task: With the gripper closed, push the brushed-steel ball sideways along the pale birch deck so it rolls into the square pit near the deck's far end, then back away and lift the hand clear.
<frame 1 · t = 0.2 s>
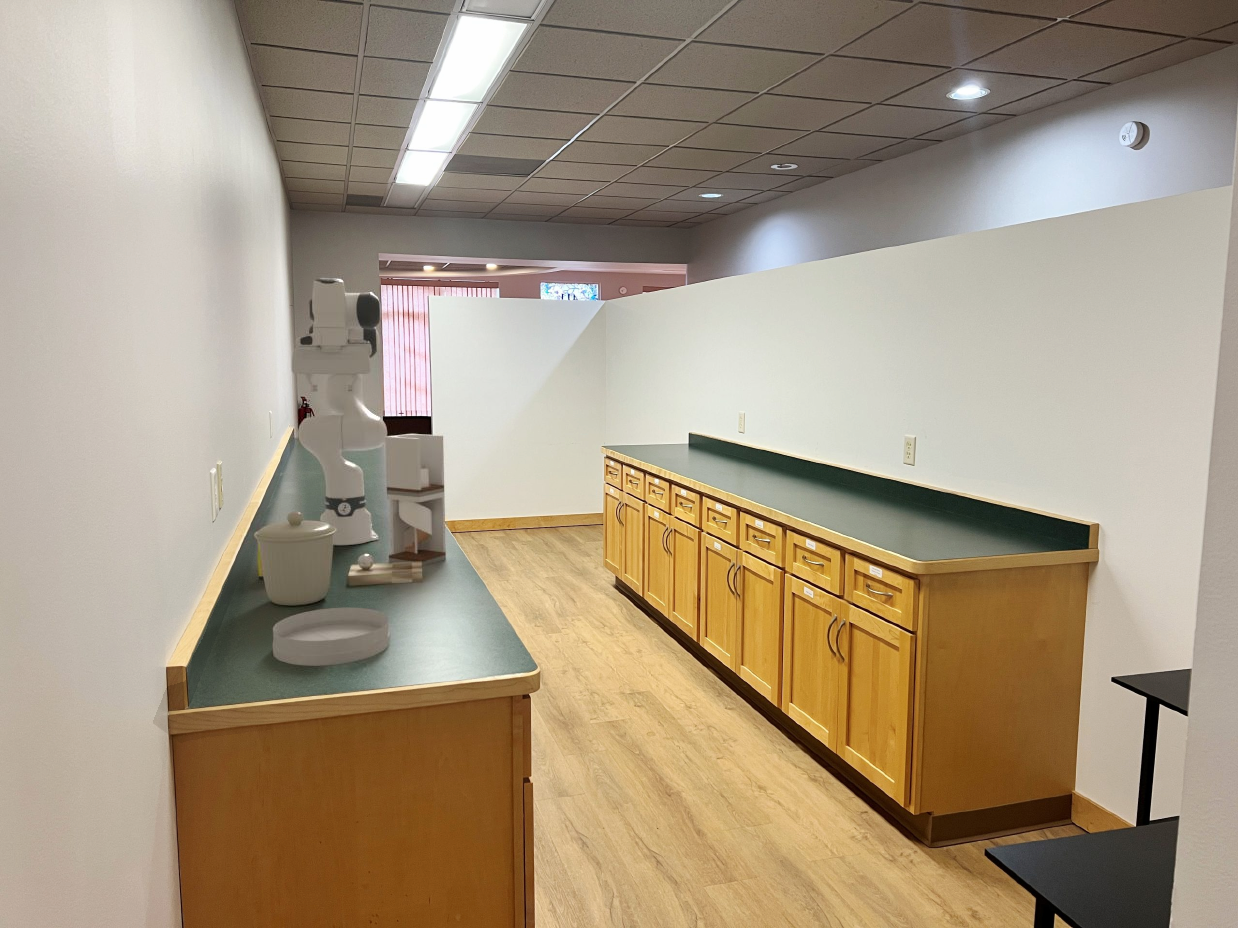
hand: (332, 391, 236), 47 cm above the table, fingers open, 8 cm apart
canister: (298, 600, 207), on the table
steel ball: (365, 561, 226), point 4 cm above the table, touching birch deck
display case: (417, 561, 247), on the table
birch deck: (386, 577, 227), on the table
dish: (332, 648, 174), on the table
supplement box: (275, 577, 228), on the table
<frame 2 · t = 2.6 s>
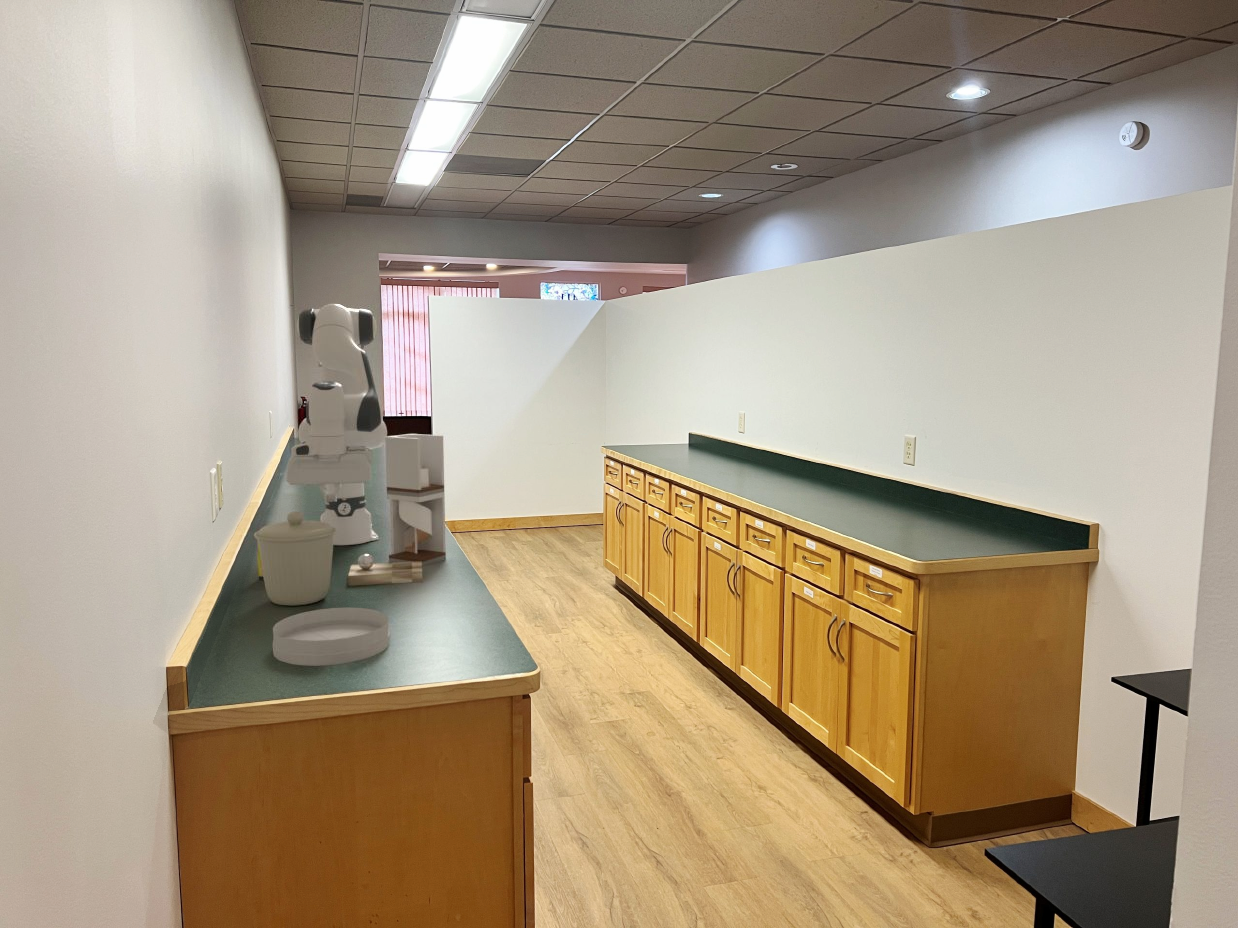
hand: (330, 501, 222), 20 cm above the table, fingers closed
nothing on the table moved.
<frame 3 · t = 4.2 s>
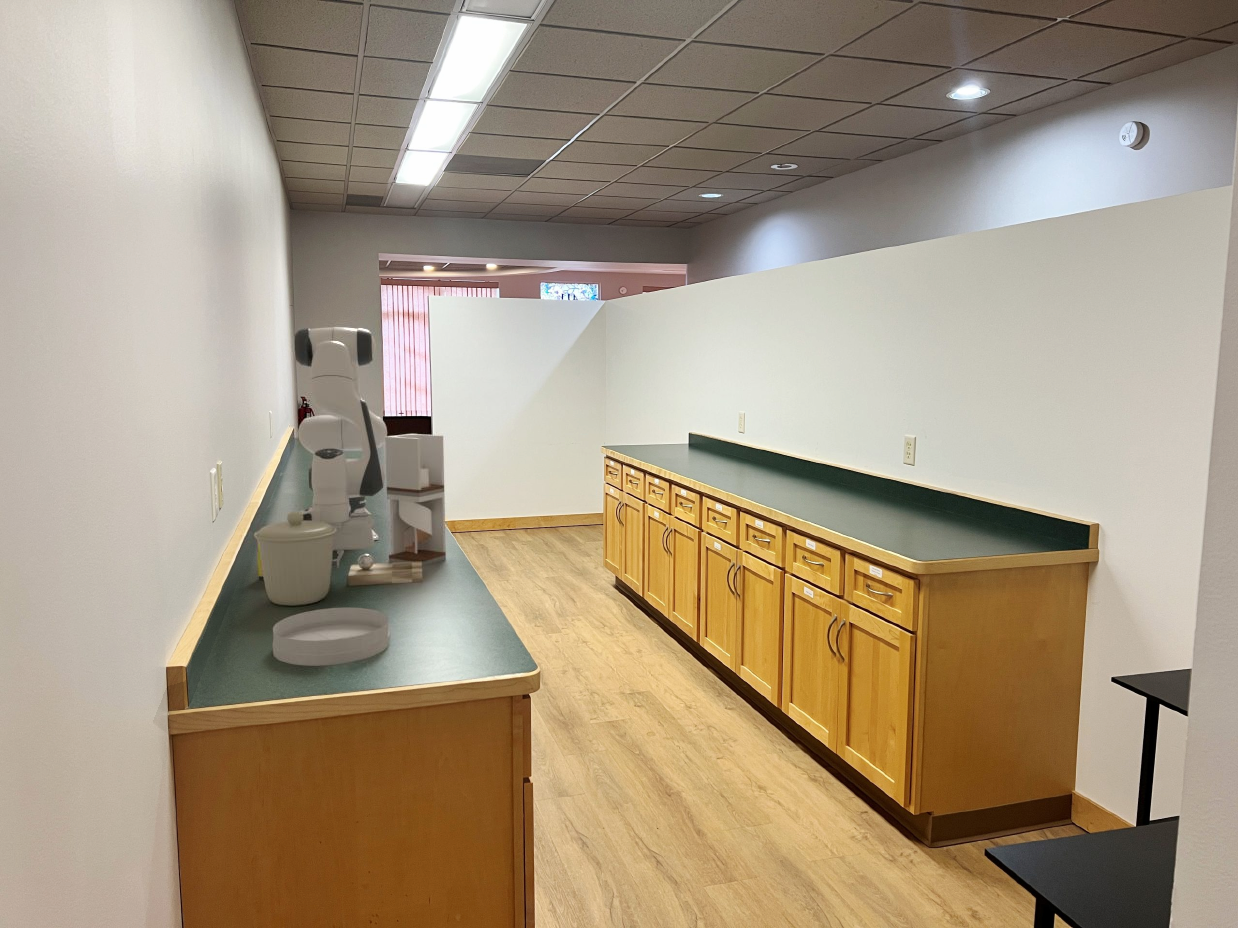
hand: (333, 567, 224), 4 cm above the table, fingers closed
nothing on the table moved.
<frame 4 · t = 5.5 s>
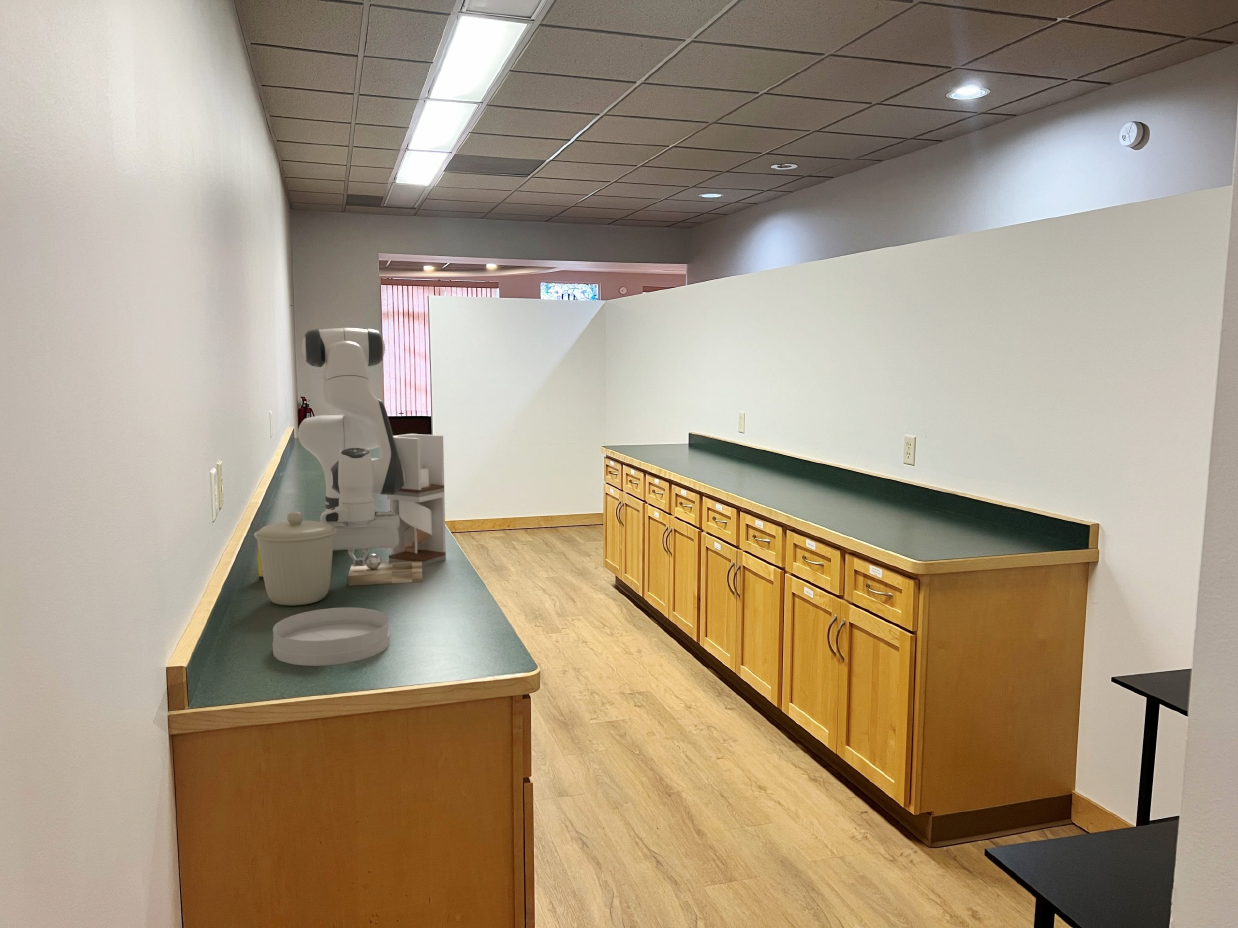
hand: (359, 565, 225), 4 cm above the table, fingers closed
steel ball: (373, 561, 226), point 4 cm above the table, tilted 52°, touching birch deck, gripper
everything else where it was.
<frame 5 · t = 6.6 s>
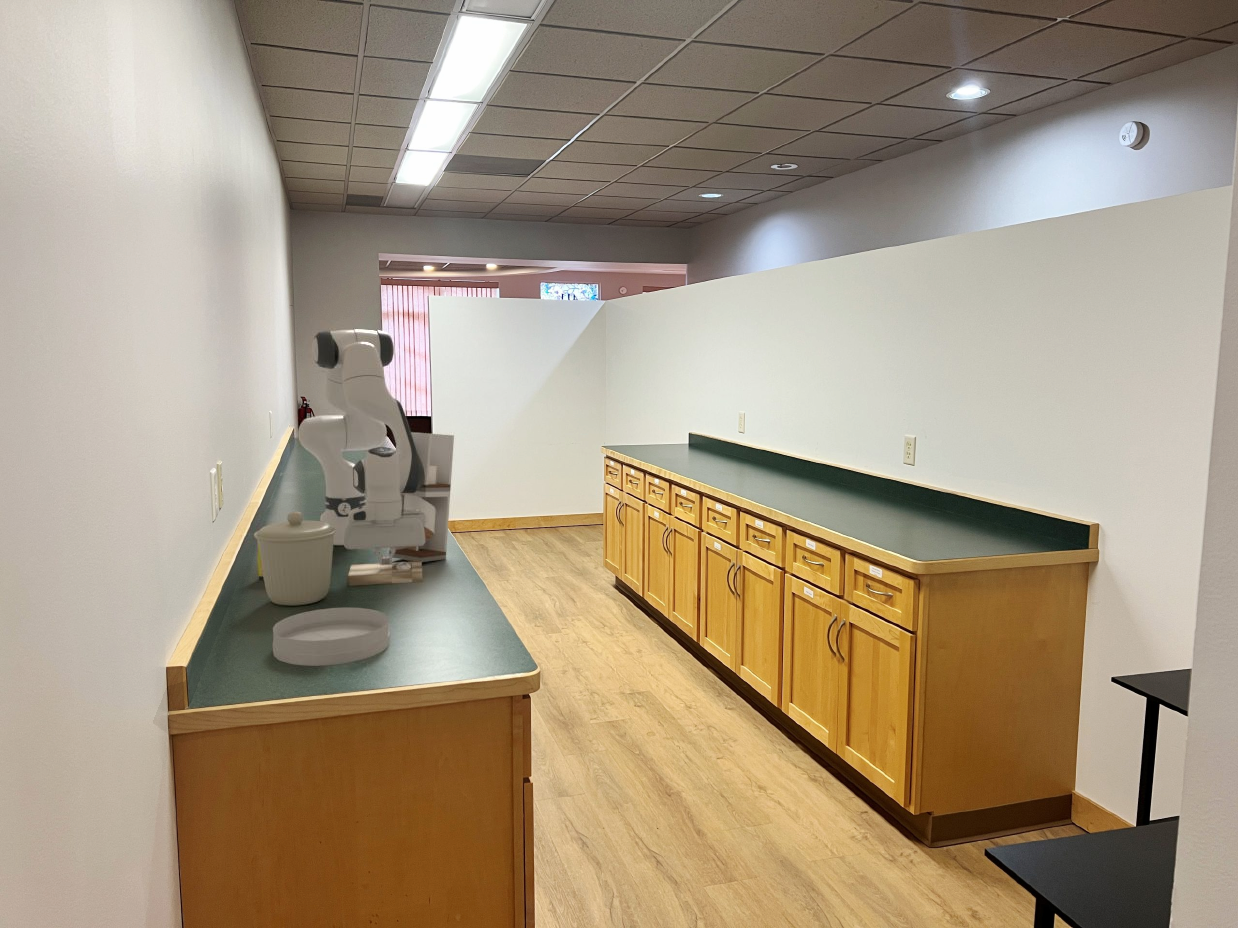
hand: (385, 564, 227), 4 cm above the table, fingers closed
steel ball: (403, 569, 228), point 2 cm above the table, tilted 43°
display case: (417, 558, 247), on the table, touching arm
everything else where it was.
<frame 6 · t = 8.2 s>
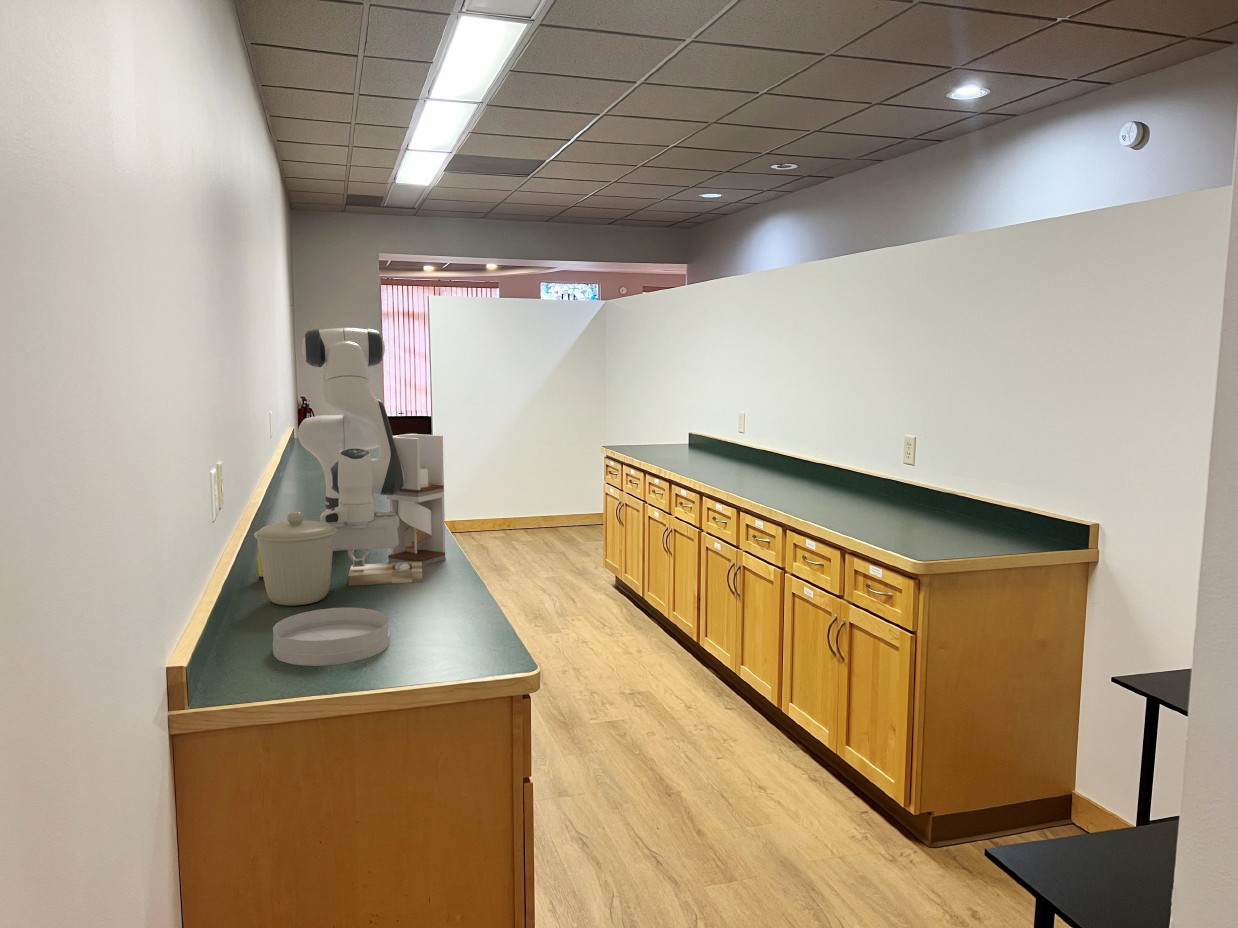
hand: (358, 566, 226), 3 cm above the table, fingers closed
steel ball: (402, 569, 228), point 2 cm above the table, tilted 54°
display case: (417, 561, 247), on the table
everything else where it was.
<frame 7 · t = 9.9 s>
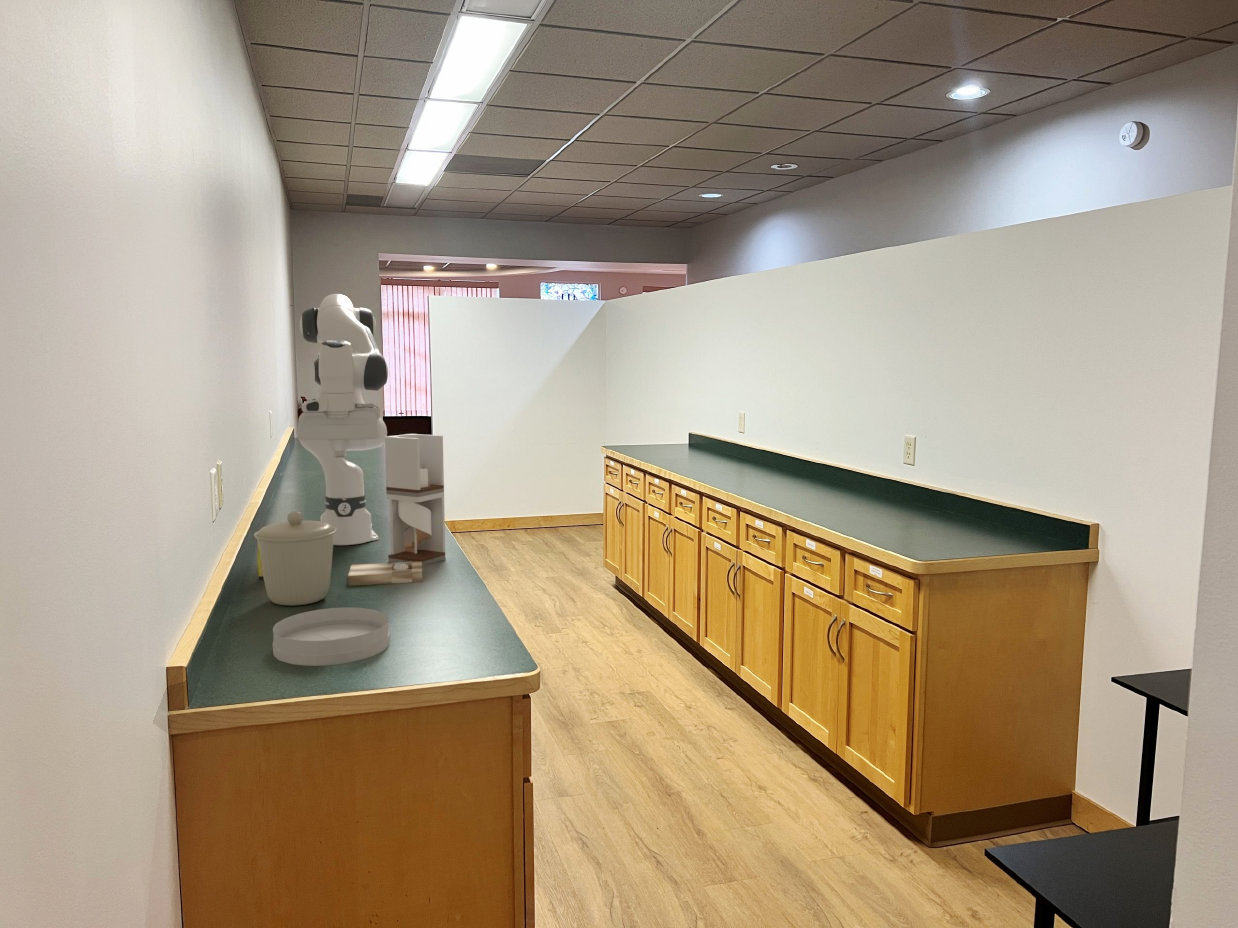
hand: (339, 457, 228), 31 cm above the table, fingers closed
steel ball: (401, 569, 228), point 2 cm above the table, tilted 65°
everything else where it was.
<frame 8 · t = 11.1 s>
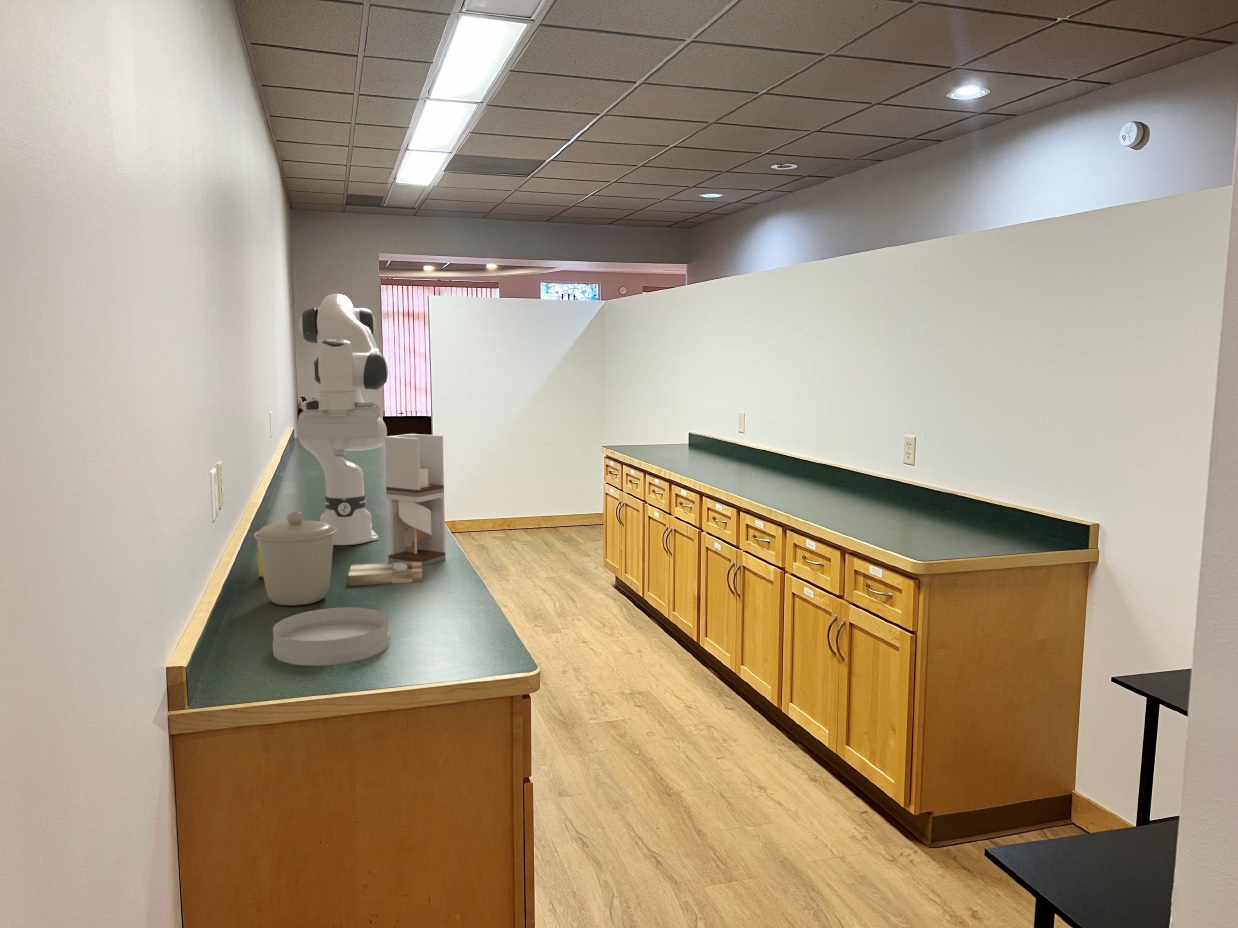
hand: (339, 456, 228), 31 cm above the table, fingers closed
steel ball: (400, 569, 228), point 2 cm above the table, tilted 71°
everything else where it was.
at the end: steel ball 0.5 cm from the target spot on the birch deck, point 2.0 cm above the birch deck's base; steel ball touching table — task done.
